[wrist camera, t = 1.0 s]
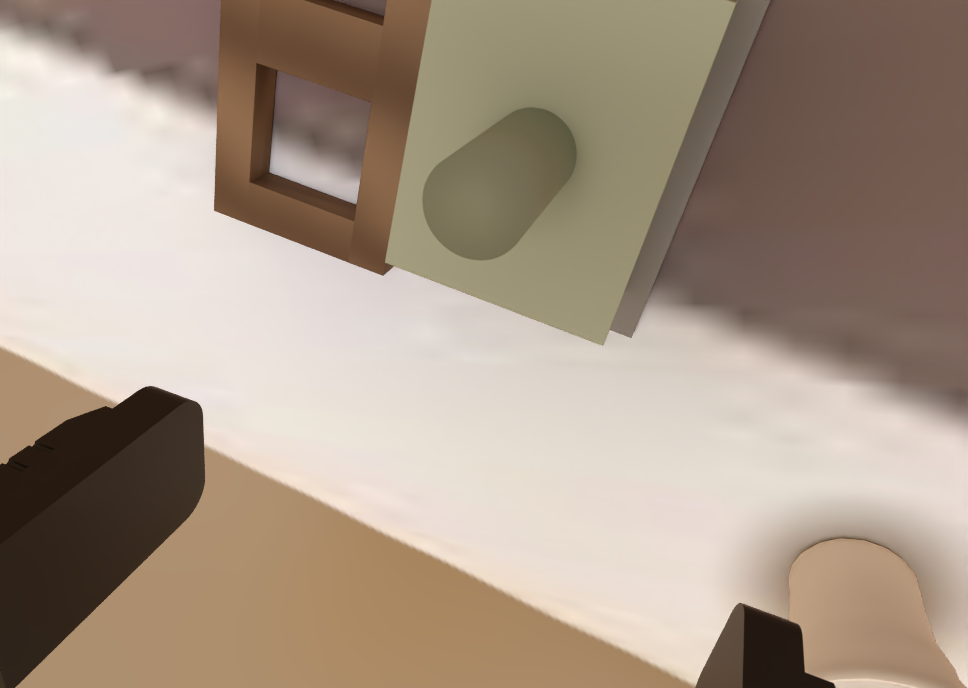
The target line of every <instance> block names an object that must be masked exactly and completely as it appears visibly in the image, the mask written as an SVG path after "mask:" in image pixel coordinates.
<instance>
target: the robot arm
mask: <svg viewBox="0 0 968 688" xmlns="http://www.w3.org/2000/svg"><path fill="white" fill-rule="evenodd" d="M204 484H205V464H204V433H203V412H202V408H201V406H200V405H199V404H198V403H197V402H195V401H192V400H190V399H187V398H184V397H181V396H179V395H176V394H173V393H170V392H168V391H165V390H162V389H160V388H157V387H154V386H148V387H144V388H142V389H140V390H139V391H137V392H136V393H134V394H133V395H131V396H130V397H128V398H127V399H126V400H124V401H123V402H121V403H120V404H118V405H117V406H116V407H114V408H113V409H112V408H109V407H107V406H105V407H102V408H99V409H97V410H94V411H91V412H88V413H85V414H83V415H80V416H77V417H74V418H71V419H69V420H66V421H65V422H63V423H62V424H60V425H59V426H57V427H56V428H54V429H53V430H52V431H50V432H49V433H47V434H45V435H44V436H42V437H41V438H39V439H38V440H37V441H35V444H34V445H33V446H32V447H31V446H27V447H26V448H24V449H23V450H22V451H20V452H18V453H17V454H15V455H14V456H12V457H11V458H10V459H9V461H8V463H7V464H3V463H2V464H1V465H0V688H15V687H16V686H17V685H18V684H19V683H20V682H21V681H22V680H23V679H24V678H25V677H26V676H27V675H28V674H29V673H30V672H31V671H32V670H33V669H34V668H36V667H37V665H39V664H40V663H41V662H42V661H43V660H44V659H45V658H46V657H47V656H48V655H49V654H50V653H51V652H52V651H53V650H54V649H55V648H56V647H57V646H58V645H59V644H60V643H61V642H62V641H63V640H64V639H65V638H66V637H67V636H68V635H69V634H70V633H71V632H72V631H73V630H74V629H75V628H76V627H77V626H78V625H79V624H80V623H81V622H82V621H83V620H85V618H87V617H88V616H89V615H90V614H91V613H92V612H93V611H94V610H95V609H96V607H98V606H99V605H100V604H101V603H102V602H103V601H104V600H105V599H106V598H107V597H108V596H109V595H110V594H111V593H112V592H113V591H114V590H115V589H116V588H117V587H118V586H119V585H120V584H121V583H122V582H123V581H124V580H125V579H126V578H127V577H128V576H129V575H130V574H131V573H132V572H133V571H134V570H136V569H137V568H138V566H140V565H141V564H142V563H143V562H144V561H145V560H146V559H147V558H148V556H150V555H151V554H152V553H153V552H154V551H155V550H156V549H157V548H158V547H159V546H160V545H161V544H162V543H163V542H164V541H165V540H166V539H167V538H168V537H169V536H170V535H171V534H172V533H173V532H174V531H175V530H176V529H177V528H178V527H179V526H180V525H181V524H182V523H183V522H184V521H185V520H186V519H187V518H188V517H189V516H190V515H191V513H192V512H193V511H194V509H195V507H196V506H197V504H198V502H199V500H200V497H201V495H202V492H203V489H204ZM696 688H836V687H835V685H834V683H832V682H829V681H827V680H824V679H822V678H819V677H816V676H814V675H811V674H808V673H806V672H805V666H804V649H803V636H802V630H801V627H800V626H799V625H798V624H797V623H794V622H791V621H789V620H786V619H783V618H780V617H778V616H775V615H772V614H769V613H767V612H764V611H761V610H759V609H756V608H753V607H750V606H748V605H745V604H742V603H739V604H737V605H736V607H735V608H734V609H733V611H732V613H731V615H730V617H729V619H728V621H727V623H726V625H725V627H724V629H723V631H722V633H721V635H720V637H719V639H718V641H717V643H716V645H715V647H714V649H713V651H712V653H711V654H710V656H709V658H708V660H707V662H706V664H705V666H704V668H703V670H702V672H701V674H700V677H699V679H698V682H697V685H696Z"/></svg>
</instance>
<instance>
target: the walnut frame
mask: <svg viewBox="0 0 968 688" xmlns="http://www.w3.org/2000/svg"><path fill="white" fill-rule="evenodd" d="M431 1H432V0H387V2H386V9H385V16H384V17H383V16H380V15H377V14H374V13H371V12H368V11H365V10H362V9H359V8H356V7H353V6H349V5H346V4H343V3H340V2H337V1H334V0H221V19H220V49H219V79H218V108H217V138H216V168H215V198H214V211H216V212H219V213H222V214H224V215H227V216H229V217H232V218H235V219H237V220H240V221H242V222H245V223H248V224H250V225H253V226H255V227H258V228H260V229H263V230H266V231H268V232H271V233H273V234H276V235H279V236H281V237H284V238H286V239H289V240H292V241H294V242H297V243H299V244H302V245H305V246H307V247H310V248H312V249H315V250H318V251H320V252H323V253H325V254H328V255H331V256H333V257H336V258H338V259H341V260H344V261H346V262H349V263H351V264H354V265H357V266H359V267H362V268H364V269H367V270H369V271H372V272H375V273H377V274H380V275H382V276H383V275H384V274H386V273H387V272H388V271H389V270H390V269H391V268H392V267H393V265H390V264H388V263H385V259H386V254H387V248H388V242H389V237H390V231H391V226H392V220H393V214H394V209H395V203H396V198H397V192H398V186H399V181H400V175H401V169H402V164H403V158H404V153H405V147H406V141H407V136H408V130H409V125H410V119H411V113H412V108H413V102H414V97H415V91H416V85H417V80H418V74H419V69H420V63H421V57H422V52H423V46H424V40H425V35H426V29H427V24H428V18H429V12H430V7H431ZM277 70H279V71H282V72H285V73H288V74H290V75H293V76H296V77H299V78H302V79H305V80H308V81H311V82H314V83H316V84H319V85H322V86H325V87H328V88H331V89H334V90H337V91H340V92H342V93H345V94H348V95H351V96H354V97H357V98H360V99H363V100H366V101H368V102H371V103H372V104H371V111H370V118H369V125H368V131H367V138H366V145H365V152H364V159H363V165H362V172H361V179H360V186H359V192H358V199H357V205H354V204H352V203H349V202H346V201H343V200H341V199H338V198H335V197H333V196H330V195H327V194H325V193H322V192H319V191H317V190H314V189H311V188H308V187H306V186H303V185H300V184H298V183H295V182H292V181H290V180H287V179H284V178H282V177H279V176H276V175H273V174H271V173H269V164H270V150H271V137H272V124H273V110H274V97H275V84H276V71H277Z"/></svg>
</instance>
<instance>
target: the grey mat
mask: <svg viewBox="0 0 968 688" xmlns="http://www.w3.org/2000/svg"><path fill="white" fill-rule="evenodd" d="M769 2H770V0H738V2H737V5H736V7H735V10H734V12H733V15H732V18H731V20H730V23H729V25H728V28H727V30H726V33H725V36H724V38H723V41H722V43H721V46H720V48H719V51H718V53H717V56H716V59H715V61H714V64H713V66H712V69H711V71H710V74H709V77H708V79H707V82H706V84H705V87H704V89H703V92H702V95H701V97H700V100H699V102H698V105H697V107H696V110H695V113H694V115H693V118H692V120H691V123H690V125H689V128H688V131H687V133H686V136H685V138H684V141H683V143H682V146H681V149H680V151H679V154H678V156H677V159H676V161H675V164H674V167H673V169H672V172H671V174H670V177H669V179H668V182H667V185H666V187H665V190H664V192H663V195H662V197H661V200H660V202H659V205H658V208H657V210H656V213H655V215H654V218H653V220H652V223H651V226H650V228H649V231H648V233H647V236H646V238H645V241H644V244H643V246H642V249H641V251H640V254H639V256H638V259H637V262H636V264H635V267H634V269H633V272H632V274H631V277H630V280H629V282H628V285H627V287H626V290H625V292H624V295H623V297H622V300H621V302H620V305H619V307H618V310H617V312H616V315H615V317H614V320H613V322H612V325H611V327H610V330H612V331H614V332H617V333H620V334H622V335H625V336H627V337H630V338H632V335H633V333H634V331H635V328H636V326H637V323H638V321H639V318H640V316H641V314H642V311H643V309H644V306H645V304H646V301H647V299H648V297H649V294H650V292H651V289H652V287H653V284H654V282H655V279H656V277H657V275H658V272H659V270H660V267H661V265H662V262H663V260H664V258H665V255H666V253H667V250H668V248H669V245H670V243H671V241H672V238H673V236H674V233H675V231H676V228H677V226H678V224H679V221H680V219H681V216H682V214H683V211H684V209H685V207H686V204H687V202H688V199H689V197H690V194H691V192H692V190H693V187H694V185H695V182H696V180H697V177H698V175H699V173H700V170H701V168H702V165H703V163H704V160H705V158H706V156H707V153H708V151H709V148H710V146H711V143H712V141H713V139H714V136H715V134H716V131H717V129H718V126H719V124H720V121H721V119H722V117H723V114H724V112H725V109H726V107H727V104H728V102H729V100H730V97H731V95H732V92H733V90H734V87H735V85H736V83H737V80H738V78H739V75H740V73H741V70H742V68H743V66H744V63H745V61H746V58H747V56H748V53H749V51H750V49H751V46H752V44H753V41H754V39H755V36H756V34H757V32H758V29H759V27H760V24H761V22H762V19H763V17H764V15H765V12H766V10H767V7H768V5H769Z"/></svg>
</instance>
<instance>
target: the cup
mask: <svg viewBox="0 0 968 688" xmlns="http://www.w3.org/2000/svg"><path fill="white" fill-rule="evenodd" d="M788 584H789V593H790V610H789V621H791V622H794V623H797V624H798V625H799V626H800V627H801V630H802V636H803V649H804V666H805V672H806V673H808V674H811V675H814V676H816V677H819V678H822V679H824V680H827V681H829V682H832V683H834V685H835V687H836V688H966V687H965V685H964V684H963V683H962V682H961V681H960V680H959V678H958V675H957V673H956V670H955V668H954V667H953V666H952V664H951V663H950V661H949V660H948V659H947V657H946V656H945V654H944V653H943V652H942V650H941V649H940V647H939V646H938V644H937V643H936V640H935V638H934V635H933V633H932V630H931V627H930V624H929V621H928V618H927V615H926V612H925V608H924V605H923V601H922V597H921V593H920V590H919V586H918V582H917V578H916V575H915V574H914V573H913V572H912V570H911V569H910V568H909V567H908V565H907V564H906V563H905V562H904V560H903V559H901V558H900V557H898V556H897V555H895V554H894V553H893V552H891V551H890V550H888V549H887V548H885V547H882V546H879V545H877V544H874V543H871V542H868V541H865V540H857V539H845V538H839V539H834V540H829V541H825V542H820V543H818V544H816V545H814V546H813V547H811V548H809V549H807V550H806V551H804V552H802V553H801V554H800V555H799V557H798V558H797V559H796V560H795V561H794V563H793V564H792V566H791V570H790V574H789V581H788Z"/></svg>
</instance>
